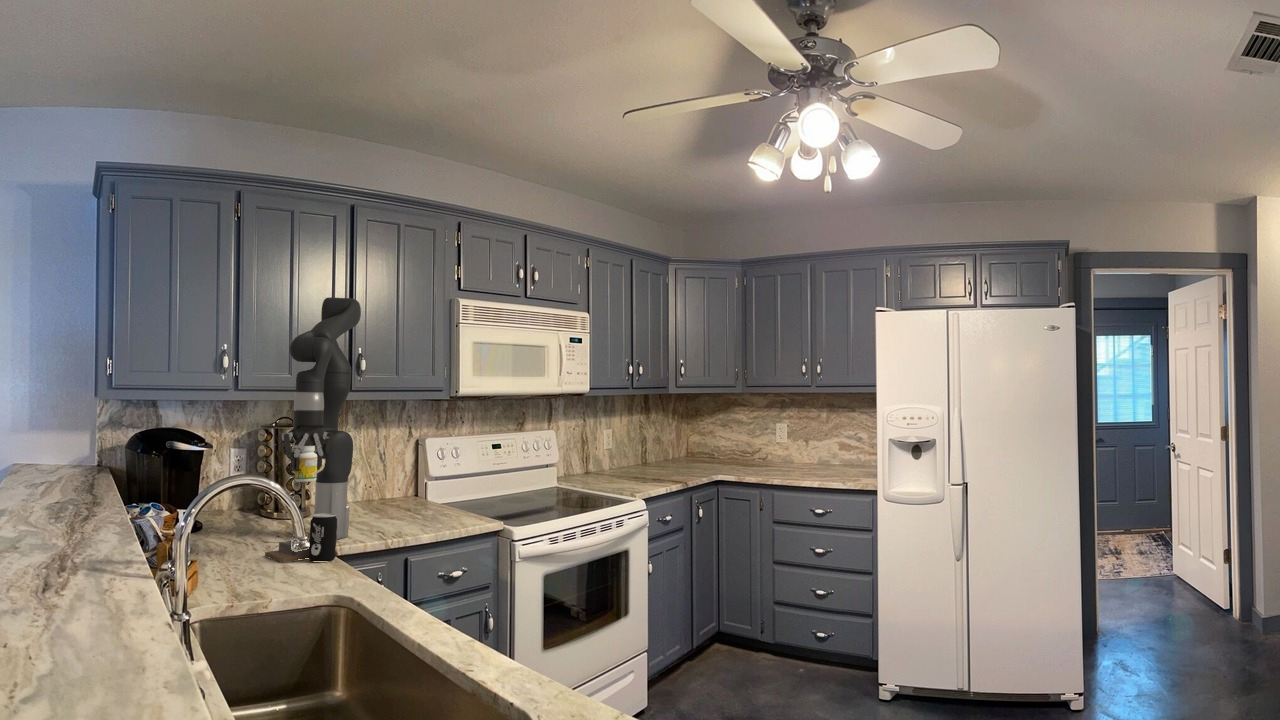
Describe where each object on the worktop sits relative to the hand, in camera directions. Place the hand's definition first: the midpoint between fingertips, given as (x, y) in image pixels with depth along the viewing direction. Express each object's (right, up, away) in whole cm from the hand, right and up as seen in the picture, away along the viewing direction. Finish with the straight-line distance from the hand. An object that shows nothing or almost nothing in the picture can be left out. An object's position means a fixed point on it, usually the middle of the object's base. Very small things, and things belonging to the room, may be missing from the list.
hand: (306, 470), depth 193 cm
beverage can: (+8, -23, -7) cm, 25 cm away
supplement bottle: (0, -3, 0) cm, 3 cm away
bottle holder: (-1, -23, -2) cm, 23 cm away
